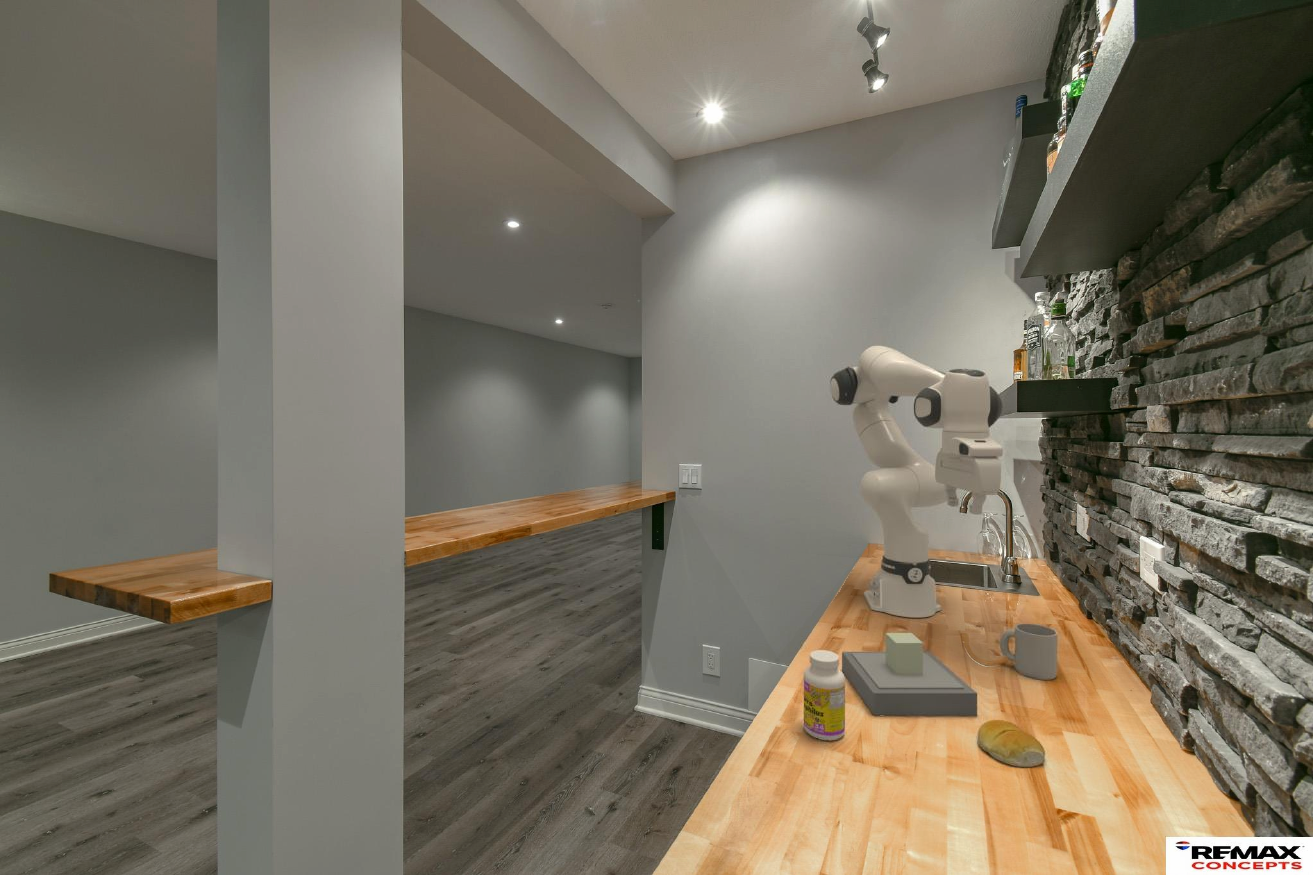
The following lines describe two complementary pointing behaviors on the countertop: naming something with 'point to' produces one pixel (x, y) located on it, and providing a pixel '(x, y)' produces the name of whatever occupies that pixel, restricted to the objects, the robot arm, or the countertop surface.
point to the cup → (1032, 650)
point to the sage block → (904, 654)
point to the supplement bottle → (824, 696)
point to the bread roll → (1010, 744)
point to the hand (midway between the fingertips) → (963, 509)
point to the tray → (908, 687)
